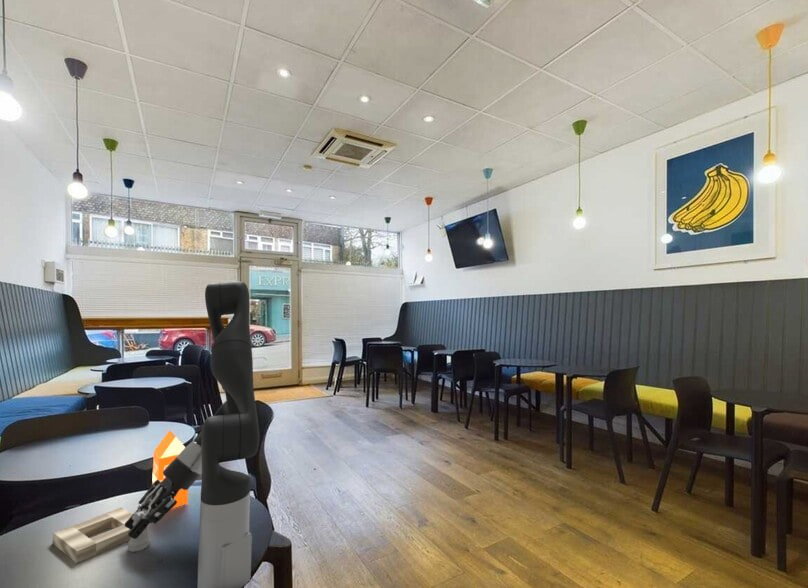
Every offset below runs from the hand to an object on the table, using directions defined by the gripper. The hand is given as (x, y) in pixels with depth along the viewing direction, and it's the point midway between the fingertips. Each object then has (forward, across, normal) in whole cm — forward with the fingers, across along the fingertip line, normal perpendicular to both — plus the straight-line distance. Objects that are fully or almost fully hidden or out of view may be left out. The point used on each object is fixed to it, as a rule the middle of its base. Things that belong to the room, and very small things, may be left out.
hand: (129, 531), depth 88 cm
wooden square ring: (+6, -11, 0) cm, 12 cm away
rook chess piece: (+2, 0, +4) cm, 5 cm away
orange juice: (-6, -19, +12) cm, 23 cm away
